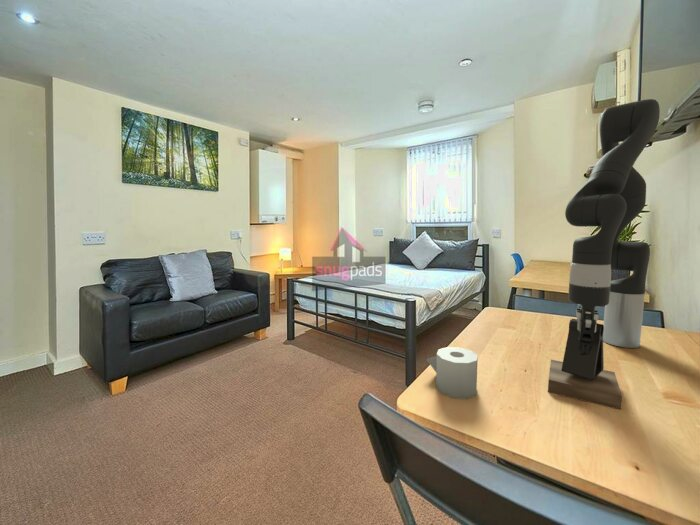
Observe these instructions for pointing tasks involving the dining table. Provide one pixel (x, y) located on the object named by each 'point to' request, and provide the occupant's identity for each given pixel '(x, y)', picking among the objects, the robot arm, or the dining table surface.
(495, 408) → the dining table surface
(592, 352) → the phone stand
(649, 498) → the dining table surface
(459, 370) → the toilet tissue
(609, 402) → the walnut block
